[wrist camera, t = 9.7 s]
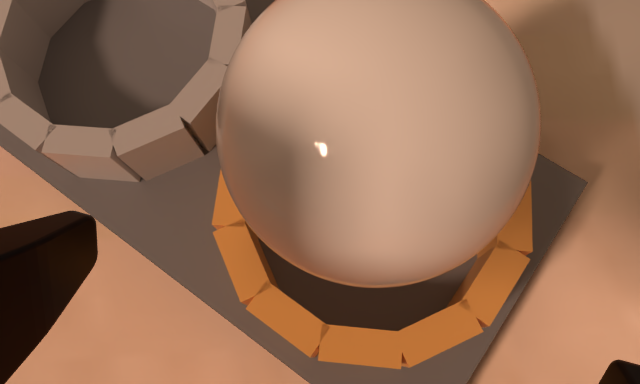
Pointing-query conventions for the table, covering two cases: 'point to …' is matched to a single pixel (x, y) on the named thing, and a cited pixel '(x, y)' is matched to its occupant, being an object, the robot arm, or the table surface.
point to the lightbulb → (378, 134)
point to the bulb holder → (215, 201)
